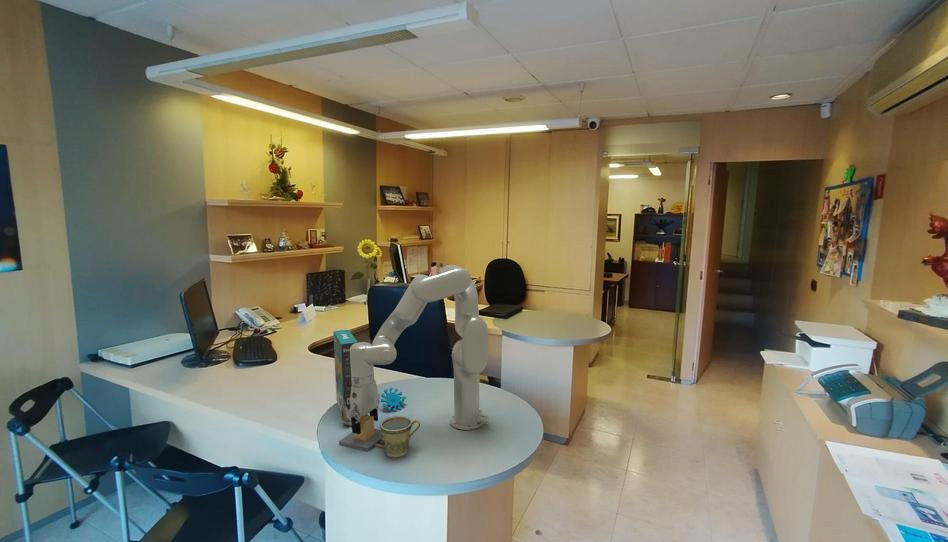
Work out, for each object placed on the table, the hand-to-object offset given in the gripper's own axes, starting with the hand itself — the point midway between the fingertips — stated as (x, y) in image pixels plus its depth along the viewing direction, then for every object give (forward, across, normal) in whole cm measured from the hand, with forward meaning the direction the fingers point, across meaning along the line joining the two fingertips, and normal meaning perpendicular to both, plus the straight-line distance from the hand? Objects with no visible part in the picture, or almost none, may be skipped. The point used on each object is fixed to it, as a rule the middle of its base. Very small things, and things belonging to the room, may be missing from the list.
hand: (365, 426), depth 146 cm
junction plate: (+5, 0, -2) cm, 5 cm away
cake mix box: (+5, +18, +22) cm, 29 cm away
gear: (+5, +25, +5) cm, 26 cm away
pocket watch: (+5, +8, +12) cm, 15 cm away
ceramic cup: (+5, -2, -16) cm, 16 cm away
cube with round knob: (+4, 0, 0) cm, 4 cm away
